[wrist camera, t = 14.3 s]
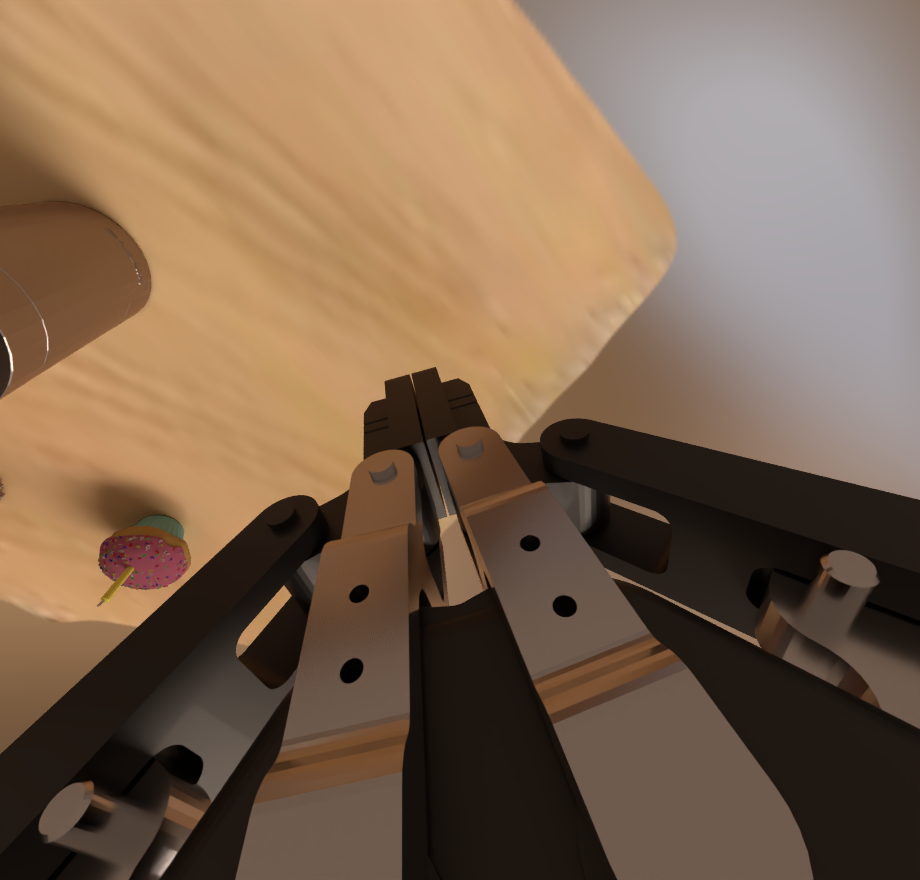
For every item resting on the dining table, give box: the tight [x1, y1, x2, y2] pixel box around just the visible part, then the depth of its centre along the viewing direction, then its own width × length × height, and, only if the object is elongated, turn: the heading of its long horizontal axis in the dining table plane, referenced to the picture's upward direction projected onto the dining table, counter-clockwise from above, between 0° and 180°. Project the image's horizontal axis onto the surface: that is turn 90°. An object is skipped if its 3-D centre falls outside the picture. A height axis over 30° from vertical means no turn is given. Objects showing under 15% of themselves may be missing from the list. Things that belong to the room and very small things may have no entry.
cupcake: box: [97, 515, 191, 607], centre depth 45 cm, size 9×8×12 cm
